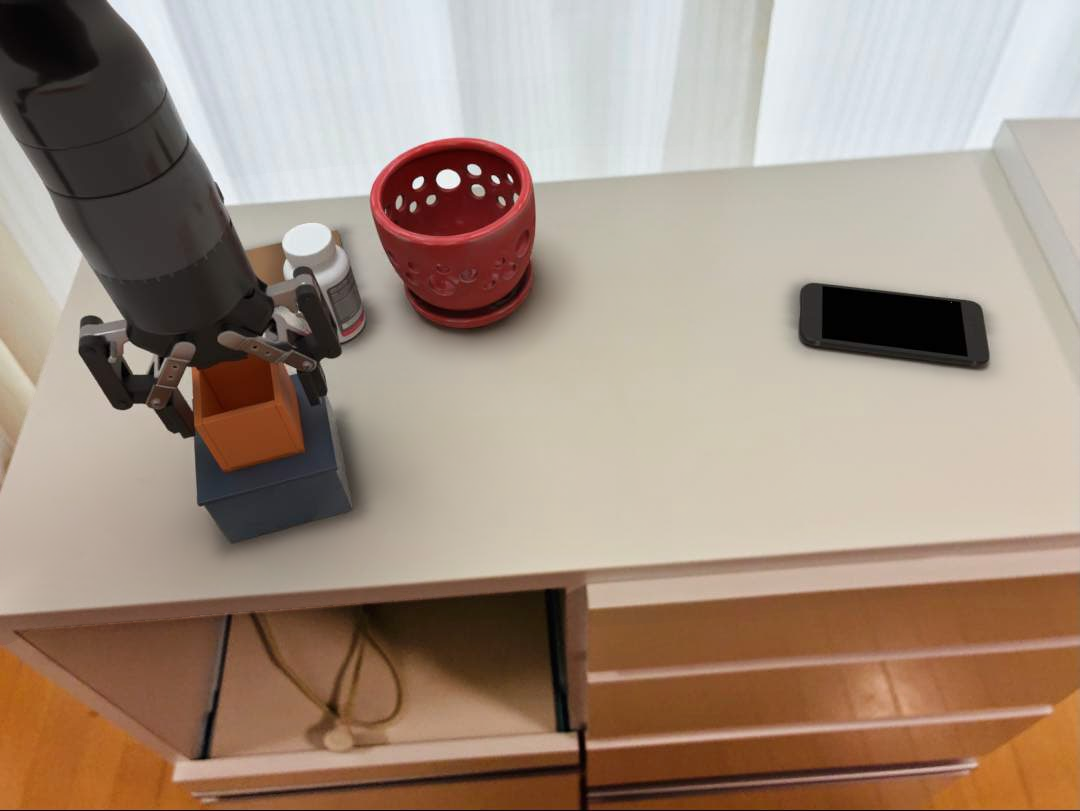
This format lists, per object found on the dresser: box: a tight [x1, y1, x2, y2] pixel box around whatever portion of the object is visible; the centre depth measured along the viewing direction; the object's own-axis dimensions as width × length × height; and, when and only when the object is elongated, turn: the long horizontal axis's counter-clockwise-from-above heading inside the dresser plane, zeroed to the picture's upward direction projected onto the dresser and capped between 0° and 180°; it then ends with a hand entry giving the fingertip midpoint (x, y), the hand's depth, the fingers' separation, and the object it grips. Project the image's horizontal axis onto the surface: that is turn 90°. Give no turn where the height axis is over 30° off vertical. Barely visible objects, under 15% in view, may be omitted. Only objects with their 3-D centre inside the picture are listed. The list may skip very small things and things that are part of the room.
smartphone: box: [798, 282, 991, 367], centre depth 69 cm, size 7×15×1 cm, turn 78°
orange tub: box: [190, 354, 306, 473], centre depth 56 cm, size 6×6×6 cm
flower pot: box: [369, 137, 537, 329], centre depth 70 cm, size 13×13×12 cm
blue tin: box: [191, 372, 354, 544], centre depth 61 cm, size 9×9×6 cm
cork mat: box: [244, 229, 343, 285], centre depth 77 cm, size 12×8×1 cm, turn 107°
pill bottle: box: [281, 222, 367, 344], centre depth 69 cm, size 5×5×10 cm
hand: (253, 411), depth 56 cm, fingers open, 8 cm apart
